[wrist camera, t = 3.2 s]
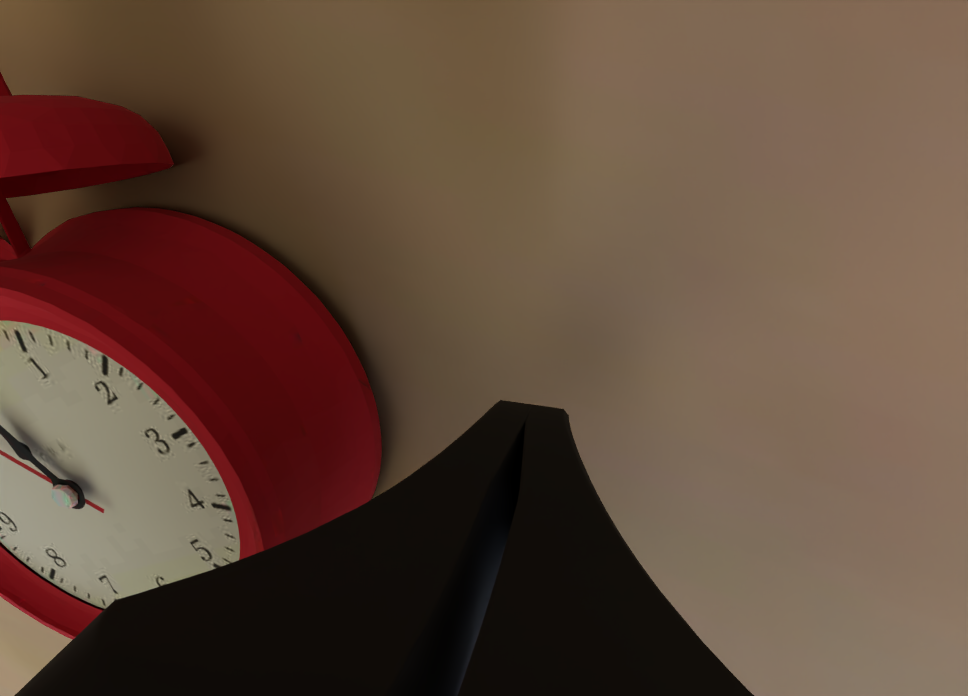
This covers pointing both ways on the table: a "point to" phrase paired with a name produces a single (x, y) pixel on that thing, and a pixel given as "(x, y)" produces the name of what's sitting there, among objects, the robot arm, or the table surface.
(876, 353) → the table surface
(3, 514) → the alarm clock
